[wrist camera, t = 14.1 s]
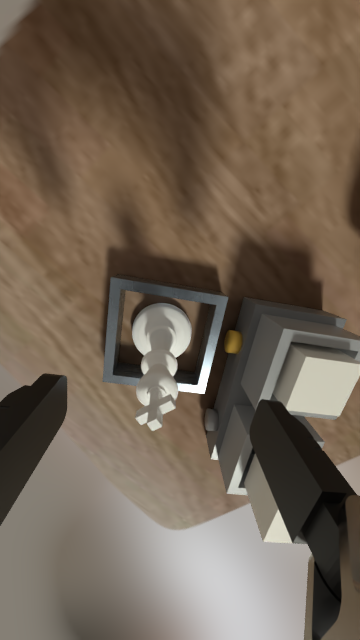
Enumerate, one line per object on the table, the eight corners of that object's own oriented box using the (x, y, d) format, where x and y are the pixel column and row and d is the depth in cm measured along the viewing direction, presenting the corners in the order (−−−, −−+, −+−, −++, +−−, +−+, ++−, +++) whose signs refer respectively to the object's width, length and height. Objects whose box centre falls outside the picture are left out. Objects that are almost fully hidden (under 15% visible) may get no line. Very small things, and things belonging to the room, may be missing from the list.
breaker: (257, 446, 15) (282, 500, 12) (304, 451, 15) (340, 504, 12) (243, 482, 16) (263, 541, 13) (287, 486, 16) (317, 544, 13)
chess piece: (120, 321, 17) (60, 407, 8) (173, 291, 17) (179, 345, 7) (152, 367, 19) (134, 487, 9) (201, 341, 18) (237, 440, 9)
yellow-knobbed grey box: (234, 295, 17) (264, 314, 12) (322, 310, 18) (387, 334, 13) (198, 435, 21) (208, 495, 16) (270, 442, 22) (302, 501, 17)
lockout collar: (117, 274, 16) (110, 277, 14) (221, 291, 17) (228, 296, 15) (109, 368, 18) (102, 381, 16) (200, 379, 19) (204, 393, 17)
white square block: (275, 333, 15) (306, 356, 12) (322, 340, 15) (364, 365, 12) (261, 377, 16) (284, 410, 13) (305, 383, 16) (339, 416, 13)
